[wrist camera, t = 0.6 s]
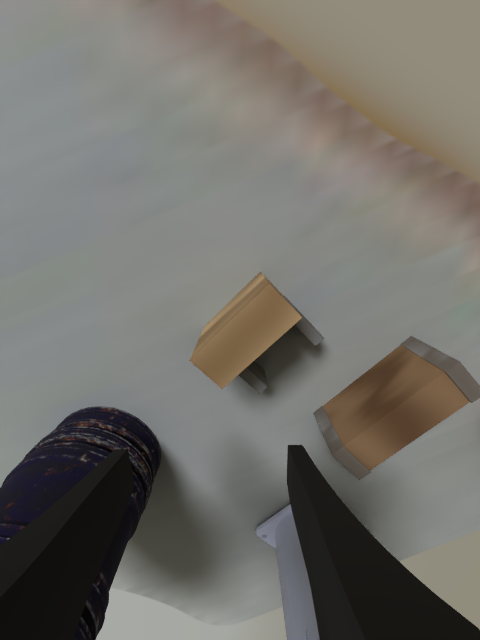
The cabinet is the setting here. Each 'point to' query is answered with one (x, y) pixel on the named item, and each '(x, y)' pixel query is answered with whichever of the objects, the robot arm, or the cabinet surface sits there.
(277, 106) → the cabinet surface
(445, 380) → the rail
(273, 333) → the wooden forked bracket
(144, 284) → the cabinet surface
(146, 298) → the cabinet surface
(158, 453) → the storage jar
